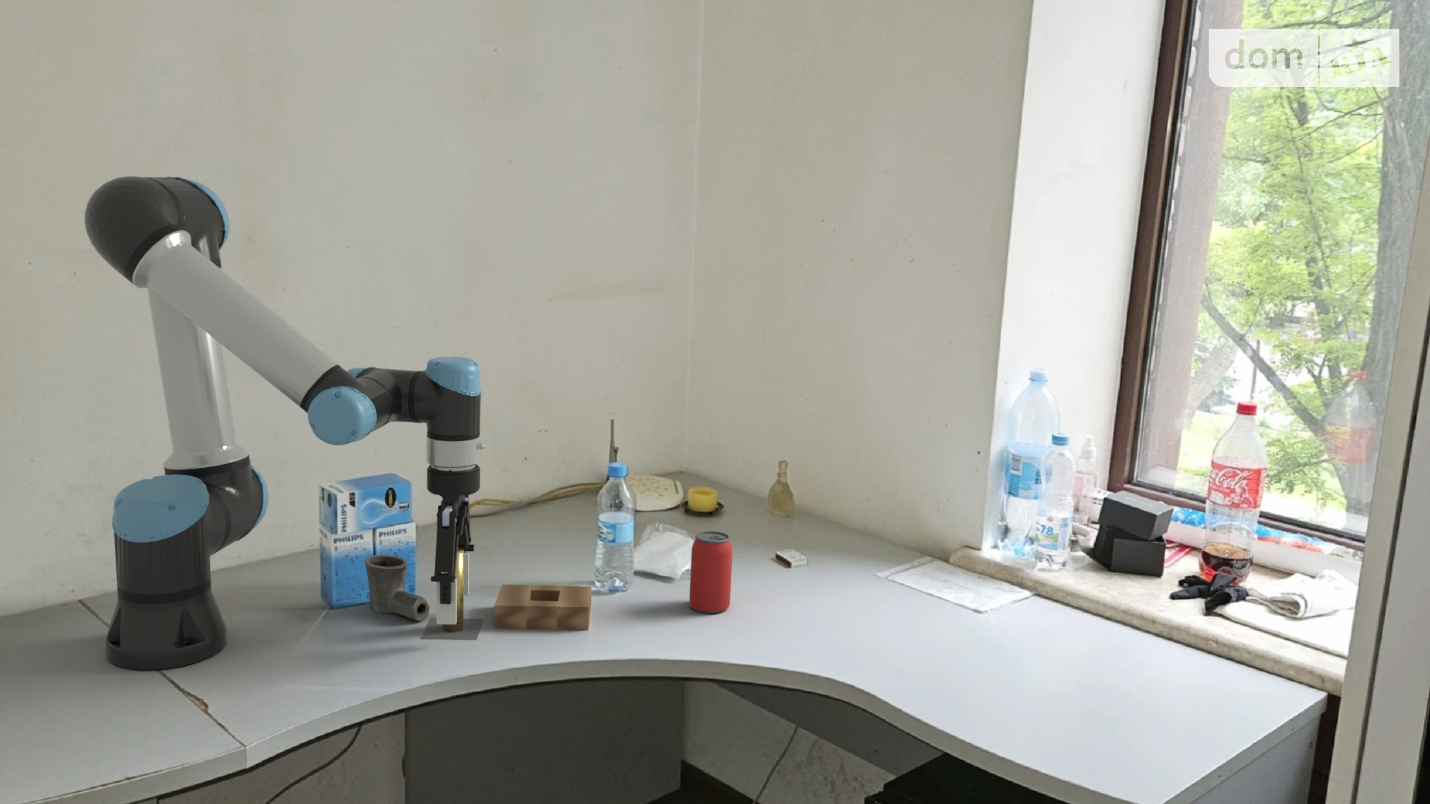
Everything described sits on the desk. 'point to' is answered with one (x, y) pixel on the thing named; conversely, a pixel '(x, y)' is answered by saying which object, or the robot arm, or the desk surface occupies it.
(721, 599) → the beer can
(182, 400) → the robot arm
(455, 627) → the pin
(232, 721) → the desk surface
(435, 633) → the mat
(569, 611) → the socket block
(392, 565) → the pipe
